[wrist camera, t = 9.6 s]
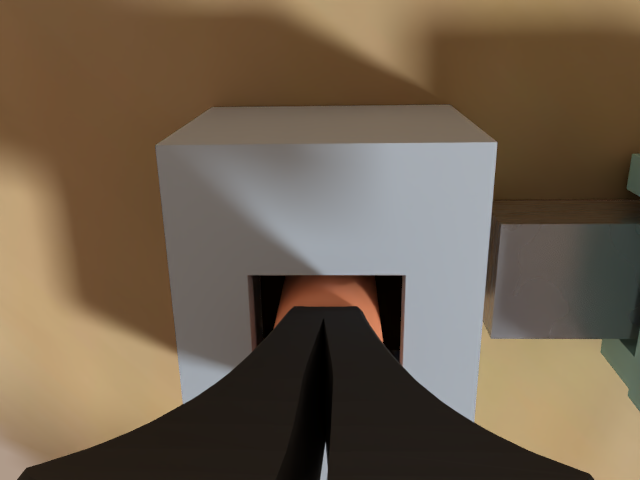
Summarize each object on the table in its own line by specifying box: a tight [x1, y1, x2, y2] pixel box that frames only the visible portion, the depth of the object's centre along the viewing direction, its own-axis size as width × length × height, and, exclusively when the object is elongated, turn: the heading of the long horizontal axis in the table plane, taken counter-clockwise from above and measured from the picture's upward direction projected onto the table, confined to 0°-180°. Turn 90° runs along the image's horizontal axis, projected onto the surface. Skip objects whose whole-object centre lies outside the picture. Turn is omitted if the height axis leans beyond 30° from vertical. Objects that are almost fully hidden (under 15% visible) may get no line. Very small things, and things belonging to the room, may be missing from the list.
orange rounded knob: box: [274, 275, 383, 343], centre depth 14 cm, size 2×2×4 cm
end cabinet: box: [155, 105, 497, 480], centre depth 14 cm, size 8×6×5 cm
